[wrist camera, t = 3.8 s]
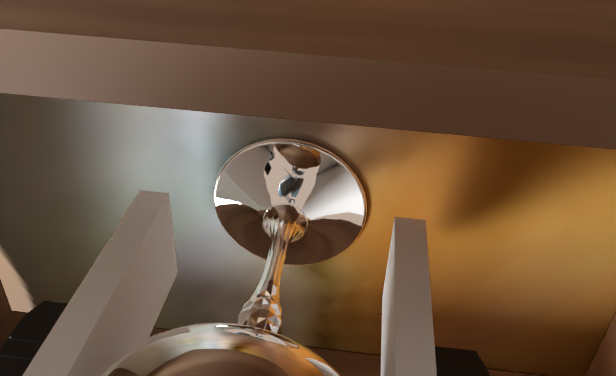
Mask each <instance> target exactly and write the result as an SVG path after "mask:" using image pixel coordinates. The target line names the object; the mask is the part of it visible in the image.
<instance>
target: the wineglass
mask: <svg viewBox="0 0 616 376" xmlns="http://www.w3.org/2000/svg"><path fill="white" fill-rule="evenodd" d="M213 200H214V207H215V211H216V214H217V217H218V219H219V221H220V223H221V225H222V227H223V228H224V230H225V231H226V232H227V234H228V235H229V236H230V237H231V238H232V239H233V240H234V241H235V242H236V243H237V244H238V245H239V246H241V247H242V248H244V249H245V250H246V251H248V252H250V253H251V254H253V255H255V256H257V257H259V258H262V259H265V260H267V261H266V265H265V268H264V272H263V275H262V277H261V280H260V282H259V284H258V286H257V288H256V289H255V291H254V293H253V294H252V296H251V298H250V299H249V300H248V301H247V302H246V303H245V304H244V306H243V308H242V310H241V312H240V313H239V315H238V324H235V323H199V324H192V325H186V326H182V327H177V328H173V329H171V330H168V331H165V332H162V333H159V334H156V335H153V336H151V337H149V338H147V339H145V340H143V341H142V342H140V343H138V344H136V345H134V346H132V347H130V348H129V349H127V350H126V351H125V352H123V353H122V354H121V355H119V356H118V357H117V358H115V359H114V360H113V361H111V362H110V363H109V364H107V365H106V366H105V367H104V368H103V369H102V370H101V371H100V373H99V374H98V375H97V376H341V375H340V374H339V372H338V371H337V370H336V369H334V368H333V367H332V366H331V365H330V364H329V363H328V362H326V361H325V360H324V359H323V358H322V357H321V356H319V355H318V354H316V353H315V352H313V351H312V350H310V349H309V348H307V347H305V346H304V345H302V344H300V343H298V342H296V341H294V340H292V339H290V338H288V337H286V336H283V335H280V334H281V329H282V321H281V316H282V308H281V306H280V281H281V274H282V269H283V265H293V266H303V265H312V264H317V263H321V262H324V261H327V260H330V259H332V258H334V257H336V256H338V255H340V254H341V253H343V252H344V251H345V250H347V249H348V248H349V247H350V246H351V245H352V244H353V243H354V242H355V241H356V239H357V238H358V236H359V235H360V233H361V231H362V229H363V227H364V224H365V220H366V216H367V200H366V195H365V191H364V189H363V187H362V185H361V183H360V181H359V179H358V177H357V175H356V174H355V173H354V172H353V170H352V169H351V168H350V167H349V166H348V165H347V164H346V162H345V161H343V160H342V159H341V158H339V157H338V156H337V155H335V154H334V153H332V152H331V151H329V150H327V149H325V148H323V147H321V146H318V145H316V144H313V143H310V142H306V141H302V140H297V139H287V138H274V139H268V140H263V141H258V142H255V143H253V144H250V145H248V146H246V147H243V148H242V149H240V150H239V151H237V152H236V153H235V154H233V155H232V156H231V157H230V158H229V159H228V160H227V161H226V162H225V163H224V165H223V166H222V167H221V169H220V171H219V173H218V175H217V177H216V180H215V184H214V191H213Z"/></svg>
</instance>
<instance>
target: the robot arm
mask: <svg viewBox="0 0 616 376" xmlns="http://www.w3.org/2000/svg"><path fill="white" fill-rule="evenodd" d="M177 274H178V267H177V259H176V250H175V242H174V234H173V225H172V217H171V209H170V201H169V193H160V192H150V191H141V190H140V191H139V193H138V194H137V196H136V197H135V199H134V200H133V202H132V204H131V205H130V207H129V208H128V210H127V211H126V213H125V215H124V216H123V218H122V219H121V221H120V223H119V224H118V226H117V227H116V229H115V230H114V232H113V234H112V235H111V237H110V238H109V240H108V241H107V243H106V245H105V246H104V248H103V249H102V251H101V253H100V254H99V256H98V257H97V259H96V260H95V262H94V264H93V265H92V267H91V268H90V270H89V271H88V273H87V275H86V276H85V278H84V279H83V281H82V282H81V284H80V286H79V287H78V289H77V290H76V292H75V294H74V295H73V297H72V298H71V300H70V301H69V303H60V302H51V301H43V302H42V303H40V304H39V305H38V306H36V307H35V308H34V309H33V310H31V311H30V312H29V313H27V314H26V315H25V316H23V317H22V319H21V320H20V322H19V323H18V325H17V326H16V327H15V329H14V330H13V332H12V333H11V335H10V336H9V340H8V341H6V342H5V343H4V344H3V346H2V347H1V349H0V376H97V375H98V374H99V373H100V371H101V370H102V369H103V368H104V367H105V366H106V365H107V364H109V363H110V362H111V361H113V360H114V359H115V358H117V357H118V356H119V355H121V354H122V353H123V352H125V351H126V350H127V349H129V348H130V347H132V346H134V345H136V344H138V343H140V342H142V341H143V340H145V339H147V338H149V336H150V334H151V332H152V330H153V327H154V325H155V323H156V321H157V318H158V316H159V314H160V312H161V310H162V307H163V305H164V303H165V301H166V298H167V296H168V294H169V292H170V289H171V287H172V285H173V283H174V280H175V278H176V276H177ZM381 376H490V374H489V372H488V370H487V368H486V367H485V365H484V363H483V362H482V360H481V359H480V357H479V355H478V354H477V352H476V351H469V350H461V349H453V348H444V347H436V346H435V343H434V330H433V316H432V302H431V289H430V275H429V261H428V248H427V234H426V220H421V219H411V218H401V217H395V218H394V224H393V231H392V237H391V243H390V250H389V256H388V263H387V269H386V276H385V282H384V288H383V295H382V335H381Z"/></svg>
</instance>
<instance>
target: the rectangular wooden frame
mask: <svg viewBox="0 0 616 376" xmlns="http://www.w3.org/2000/svg"><path fill="white" fill-rule="evenodd" d="M0 93H7V94H18V95H29V96H40V97H51V98H61V99H72V100H83V101H94V102H105V103H116V104H127V105H138V106H148V107H159V108H170V109H181V110H192V111H203V112H214V113H225V114H236V115H246V116H257V117H268V118H279V119H290V120H301V121H312V122H323V123H334V124H344V125H355V126H366V127H377V128H388V129H399V130H410V131H421V132H432V133H442V134H453V135H464V136H475V137H486V138H497V139H508V140H519V141H530V142H540V143H551V144H562V145H573V146H584V147H595V148H606V149H616V0H0ZM26 314H27V313H26V312H18V311H12V310H11V307H10V305H9V302H8V299H7V296H6V294H5V291H4V288H3V285H2V283H1V280H0V349H1V347H2V346H3V344H4V343H5V342H6V341H8V340H9V336H10V335H11V333H12V332H13V330H14V329H15V327H16V326H17V325H18V323H19V322H20V320H21V319H22V317H23V316H25V315H26ZM165 331H168V330H165V329H157V328H153V330H152V332H151V334H150V336H149V337H151V336H153V335H156V334H159V333H162V332H165ZM307 348H309V349H310V350H312V351H313V352H315V353H316V354H318V355H319V356H321V357H322V358H323V359H324V360H325V361H326V362H328V363H329V364H330V365H331V366H332V367H333V368H334V369H336V370H337V371H338V372H339V374H340V375H341V376H381V356H377V355H369V354H361V353H353V352H345V351H337V350H328V349H320V348H312V347H307ZM487 370H488V372H489V374H490V376H541V375H532V374H524V373H516V372H508V371H500V370H492V369H487ZM585 376H616V314H615V316H614V318H613V320H612V322H611V324H610V326H609V328H608V330H607V332H606V334H605V336H604V338H603V340H602V342H601V344H600V346H599V348H598V351H597V353H596V355H595V357H594V359H593V361H592V363H591V365H590V367H589V369H588V371H587V373H586V375H585Z"/></svg>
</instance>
